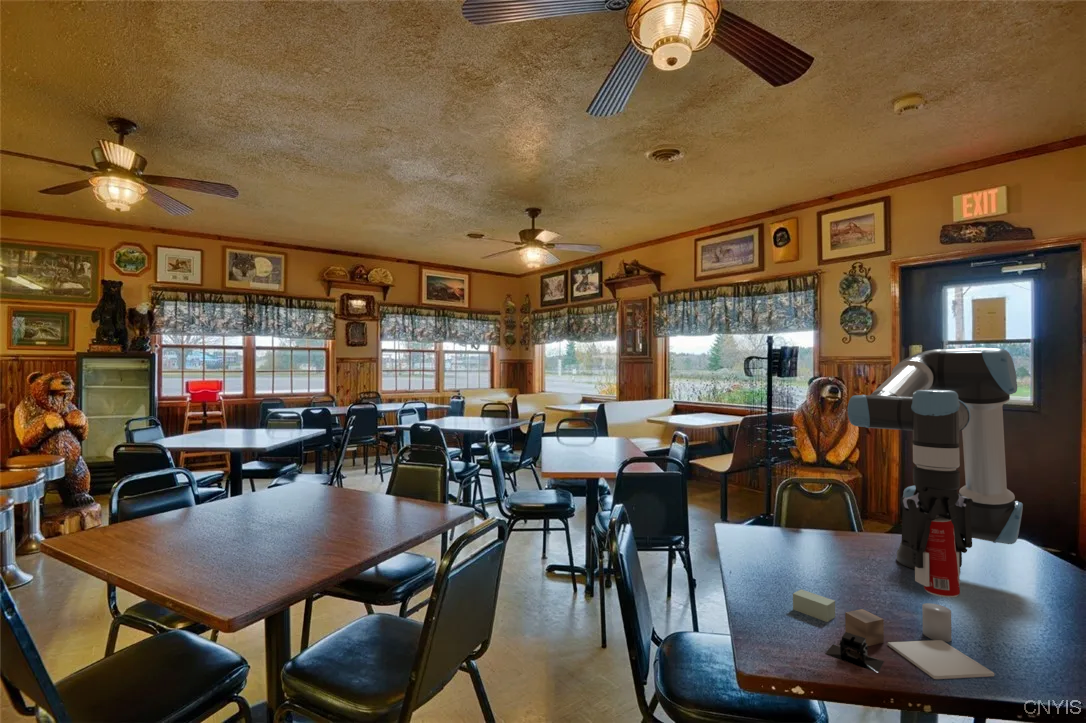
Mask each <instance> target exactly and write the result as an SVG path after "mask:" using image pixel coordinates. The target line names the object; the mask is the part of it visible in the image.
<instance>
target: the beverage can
mask: <svg viewBox="0 0 1086 723" xmlns="http://www.w3.org/2000/svg"><path fill="white" fill-rule="evenodd" d="M925 552H927V553H929V586H924V585H923V588H924V591H926V593H928V594H931V595H933V596H936V597H939V598H956V597H959V595H960V594H961V590H960V585H959V577H958V566H957V555H956V544H955V534H954V525H953V524H952V522H951V520H950V519H946V518H944V517H942V516H939V515H936V519H935V520H933V521H932V522H931V526H930V533H929V537H928V541H927V545H926V548H925Z"/></svg>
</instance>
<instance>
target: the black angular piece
mask: <svg viewBox="0 0 1086 723" xmlns="http://www.w3.org/2000/svg"><path fill="white" fill-rule="evenodd" d="M868 650H869V646H867V643H866V638H863V637H860V636H857V635H854V634H851V633H847V632H844V634H843V635H842V636H841V640H840V641H839V645H837V644H834V643H833V644H832V645H830V647H829V648H828V649H827V650H826V652H825V653H824V655H826V656H828V657H830V658H834V659H837V660H840V661H843V662H846V663H849V664H850V665H855V666H857V667H861V668H862V669H864V670H868V671H872V672H873V673H876V674H877V673H880V671H881V668H882V666H883V665H884V662H885V661H884V660H882V659H880V658H876V657H874V656H870V655H868Z"/></svg>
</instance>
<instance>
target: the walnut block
mask: <svg viewBox="0 0 1086 723" xmlns="http://www.w3.org/2000/svg"><path fill="white" fill-rule="evenodd" d="M844 619H845V620H844V621H845V624H844V625H845V629H844V630H845V632H847V633H851V634H854V635H857V636H860V637H863V638H866V643H867V647H870V646H875V645H879V644H883V643H884V642H885V639H884V638H885V630H884V629H885V628H884V627H885V626H884V624H885V623H884V622H885V621H884V618H882V617H880V616H878V615H876V614H873V613H872V612H869V611H867V610H865V609H863V608H861V609H855V610H851V611H846V612H845V613H844ZM845 632H844V633H845Z"/></svg>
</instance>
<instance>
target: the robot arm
mask: <svg viewBox="0 0 1086 723" xmlns="http://www.w3.org/2000/svg"><path fill="white" fill-rule="evenodd" d="M1016 373H1017V372H1016V368H1015V363H1014V361H1013V357H1012V355H1011V354H1010V352H1009V351H1008V350H1007V349H1004V348H991V347H990V348H989V347H972V348H970V347H969V348H949V349H948V348H947V349H943V348H941V349H940V348H938V349H937V348H936V349H930V350H925V351H921V352H918V353H916V354H913V355H911V356H908V357H906V358H905V359H903V360H900V362H898V363H897V364H896V365H895V366H894V367H893V368H892V370H891V373H890V376H889V377H888V378H887V379H886V380H885V381H883V382H882V384H880V385H879V386H878V387H877V388H876V389H875V390H874V391H873V392H872V393H871V394H870V395H869V394H867V395H866V394H861V395H860V394H859V395H858V394H857V395H856V394H855V395H852V396H851V397H850V398H849V400H848V404H847V417H848V421H849V423H850V424H851V425H853V426H854V427H861V428H862V427H863V428H866V429H883V430H896V431H897V430H898V431H912V462H913V464H914V466H913V468H912V481H913V484H914V485H909V486H906V487H905V488H904V490H903V495H902V496H901V497H900V499H899V501H900V504H901V508H902V517H901V520H902V521H901V540H900V544H899V546H898V548H897V550H896V561H897V562H898V563H899V564H900V565H903V566H905V567H907V568H910V569H913V570H914V581H915V582H917V583H918V584H920V585H922V586H923V587H924V586H929V553H927V552H925V548H926V545H927V541H928V537H929V533H930V526H931V522H932V521H933V520H935V519H936V515H939V516H942V517H944V518H946V519H950V520H951V522H952V524H953V525H954V534H955V544H956V555H957V566H958V577H959V586H960V584H961V580H960V579H961V578H960V577H961V576H960V572H961V567H962V565H963V554H966V553H967V552H968V549H972V547H973V539H974V540H975V539H976V540H980V541H987V542H991V543H994V544H998V543H999V544H1004V545H1013V544H1015V543H1016V542H1017V541H1018V536H1019V534H1020V527H1021V523H1022V517H1023V516H1022V515H1023V511H1024V510H1023V508H1024V507H1023V506H1024V504H1023V503H1022V502H1020V501H1018V500H1016V498H1015V497H1016V496H1015V494H1014V492H1012V491H1011V490H1010V489H1008V488H1007V470H1006V469H1007V468H1006V452H1005V451H1006V448H1005V432H1004V429H1005V428H1004V415H1003V414H1004V413H1003V412H1004V411H1003V405H1004V404H1006V403H1007V402H1009V401H1010V400H1011V398H1010V396H1011V395H1013V394H1016V393H1017V392H1018V381H1017V374H1016ZM960 432H962V445H963V446H962V449H963V461H964V463H963V464H964V476H965V477H964V478H965V485H963V486H962V487H961V482H960V481H961V478H960V477H961V472H960V471H959V470H958V468H959V467H960V465H961V464H960V463H961V462H960V459H961V458H960ZM958 490H959V491H958Z"/></svg>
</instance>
